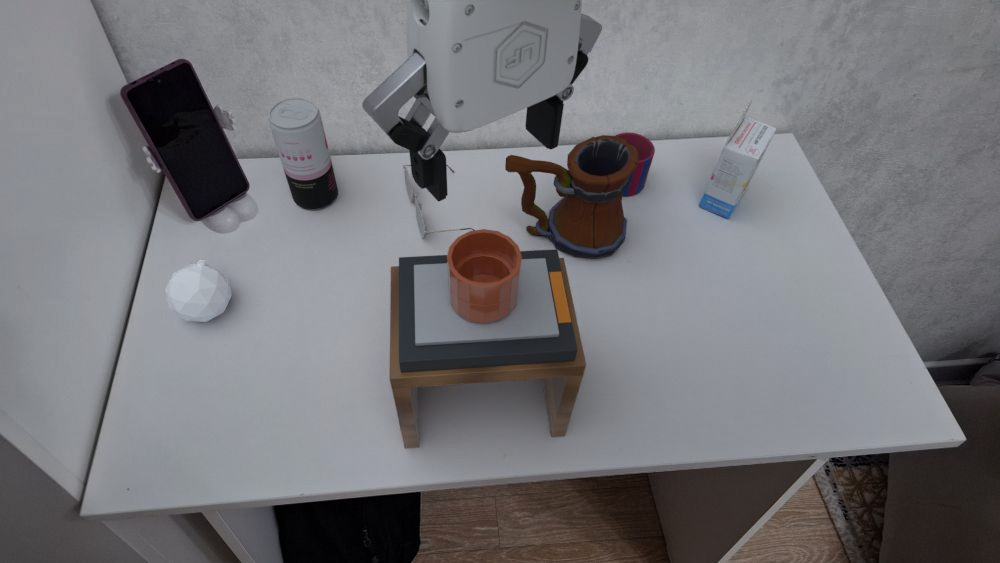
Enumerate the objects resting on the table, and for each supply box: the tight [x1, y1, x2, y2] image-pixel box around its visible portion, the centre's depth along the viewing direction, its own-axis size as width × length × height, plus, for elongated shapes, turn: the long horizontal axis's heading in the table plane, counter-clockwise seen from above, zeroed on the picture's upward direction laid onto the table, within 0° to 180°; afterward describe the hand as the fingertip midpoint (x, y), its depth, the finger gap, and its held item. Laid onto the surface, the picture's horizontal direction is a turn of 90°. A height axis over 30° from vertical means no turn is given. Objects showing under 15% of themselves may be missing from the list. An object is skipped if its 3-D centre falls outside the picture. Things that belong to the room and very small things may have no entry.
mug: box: [504, 134, 640, 259], centre depth 83 cm, size 18×12×15 cm, turn 95°
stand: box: [389, 257, 587, 449], centre depth 66 cm, size 18×13×16 cm
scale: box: [398, 248, 578, 373], centre depth 59 cm, size 16×12×2 cm
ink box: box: [698, 98, 777, 220], centre depth 88 cm, size 8×5×15 cm, turn 147°
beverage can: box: [267, 96, 339, 211], centre depth 85 cm, size 6×7×15 cm
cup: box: [614, 132, 656, 197], centre depth 93 cm, size 7×10×7 cm
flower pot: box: [446, 228, 522, 323], centre depth 56 cm, size 6×6×6 cm
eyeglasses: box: [402, 164, 475, 240], centre depth 89 cm, size 14×8×4 cm, turn 18°
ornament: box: [164, 259, 233, 323], centre depth 75 cm, size 7×7×8 cm
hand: (488, 162), depth 45 cm, fingers open, 9 cm apart
